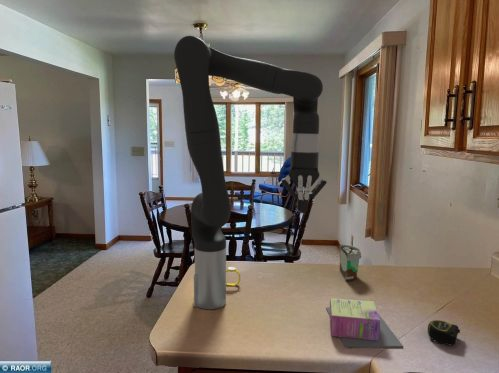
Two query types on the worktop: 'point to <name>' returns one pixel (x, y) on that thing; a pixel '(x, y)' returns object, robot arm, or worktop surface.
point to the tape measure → (443, 332)
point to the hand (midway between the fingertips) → (302, 212)
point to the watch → (233, 271)
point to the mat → (385, 340)
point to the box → (354, 319)
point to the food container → (349, 262)
